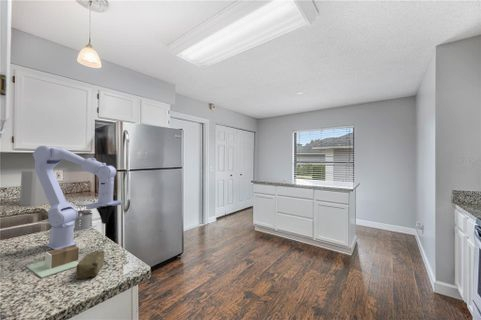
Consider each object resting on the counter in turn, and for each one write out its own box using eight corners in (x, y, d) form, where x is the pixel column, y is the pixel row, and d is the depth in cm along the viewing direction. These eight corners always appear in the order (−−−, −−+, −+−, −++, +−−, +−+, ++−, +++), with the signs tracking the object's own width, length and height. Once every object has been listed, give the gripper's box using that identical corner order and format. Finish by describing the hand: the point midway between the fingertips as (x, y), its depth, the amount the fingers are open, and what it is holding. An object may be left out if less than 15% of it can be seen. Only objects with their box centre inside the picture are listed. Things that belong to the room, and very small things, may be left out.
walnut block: (72, 256, 83) (44, 265, 76) (73, 245, 83) (45, 252, 76) (78, 259, 81) (50, 268, 74) (78, 247, 81) (50, 255, 74)
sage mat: (26, 266, 75) (26, 265, 75) (64, 255, 85) (64, 254, 85) (41, 278, 68) (41, 277, 68) (81, 265, 77) (81, 264, 77)
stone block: (104, 263, 80) (105, 249, 80) (96, 278, 69) (97, 263, 69) (86, 265, 78) (87, 251, 78) (74, 281, 67) (75, 265, 67)
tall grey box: (15, 207, 168) (17, 171, 168) (21, 204, 180) (22, 170, 181) (48, 205, 179) (50, 171, 179) (51, 202, 191) (52, 170, 192)
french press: (76, 233, 112) (79, 184, 113) (67, 229, 118) (69, 183, 119) (97, 228, 120) (99, 183, 121) (87, 225, 126) (89, 182, 127)
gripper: (92, 195, 88) (91, 228, 88) (126, 191, 101) (125, 221, 101) (84, 193, 92) (82, 225, 92) (118, 190, 105) (117, 218, 104)
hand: (104, 223), depth 96 cm, fingers closed
